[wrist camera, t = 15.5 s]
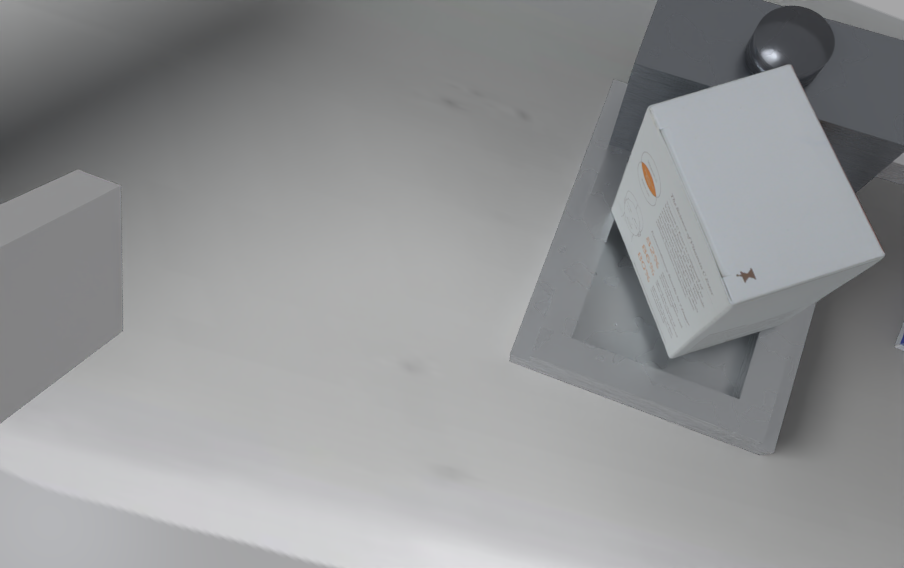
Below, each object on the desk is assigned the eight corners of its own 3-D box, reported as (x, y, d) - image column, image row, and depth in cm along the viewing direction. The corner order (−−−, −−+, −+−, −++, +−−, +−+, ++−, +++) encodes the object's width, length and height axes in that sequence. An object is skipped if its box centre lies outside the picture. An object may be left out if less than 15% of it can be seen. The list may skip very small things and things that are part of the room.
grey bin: (509, 361, 39) (514, 304, 27) (608, 97, 43) (650, -53, 31) (779, 462, 37) (911, 448, 25) (859, 176, 40) (1007, 47, 29)
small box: (781, 326, 35) (894, 260, 25) (666, 362, 35) (733, 311, 25) (715, 174, 37) (795, 56, 27) (607, 207, 37) (646, 101, 27)
